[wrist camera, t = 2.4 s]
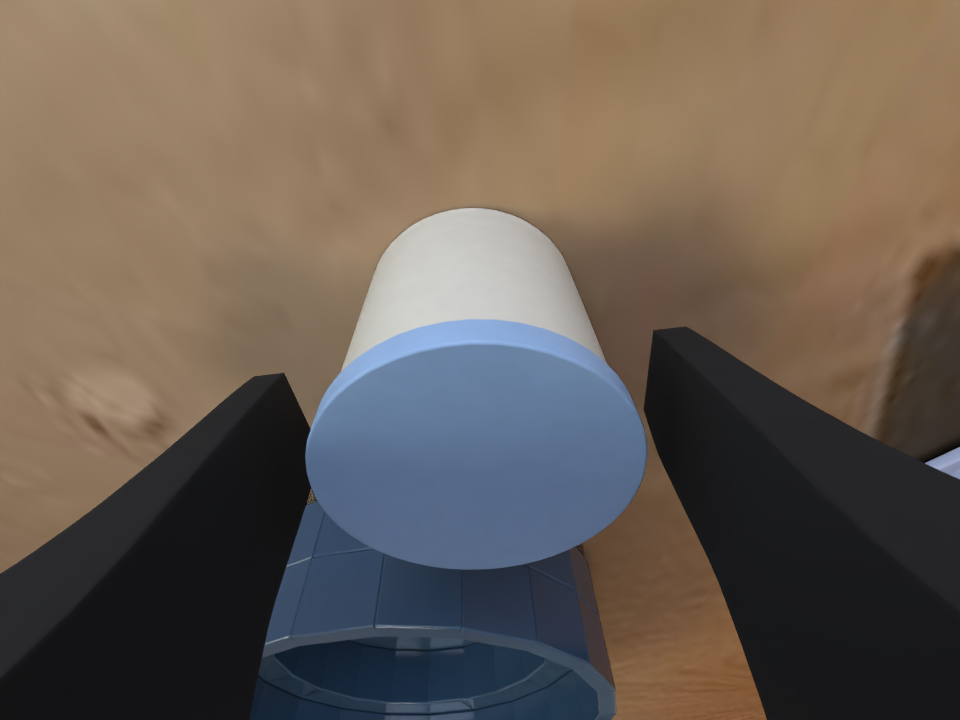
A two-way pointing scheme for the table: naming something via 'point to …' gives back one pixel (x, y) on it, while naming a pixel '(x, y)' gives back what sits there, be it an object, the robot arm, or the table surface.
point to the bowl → (429, 638)
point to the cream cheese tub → (474, 404)
